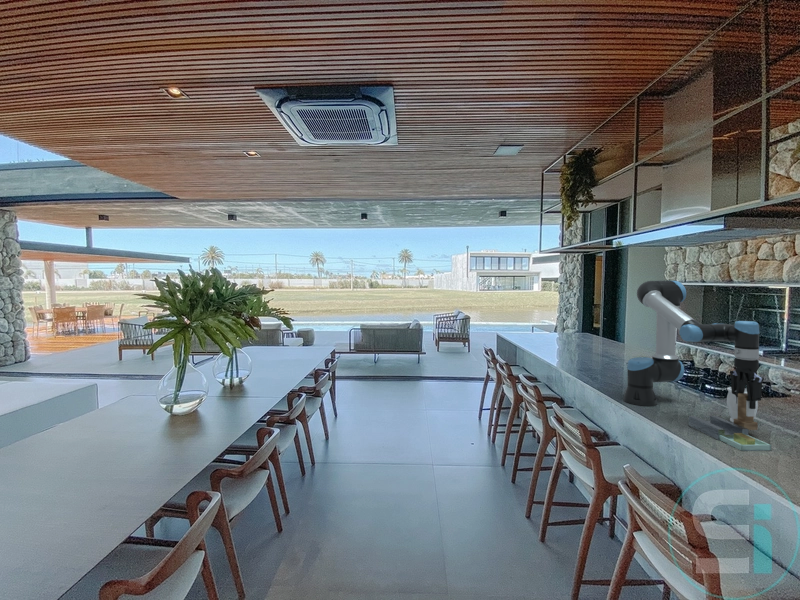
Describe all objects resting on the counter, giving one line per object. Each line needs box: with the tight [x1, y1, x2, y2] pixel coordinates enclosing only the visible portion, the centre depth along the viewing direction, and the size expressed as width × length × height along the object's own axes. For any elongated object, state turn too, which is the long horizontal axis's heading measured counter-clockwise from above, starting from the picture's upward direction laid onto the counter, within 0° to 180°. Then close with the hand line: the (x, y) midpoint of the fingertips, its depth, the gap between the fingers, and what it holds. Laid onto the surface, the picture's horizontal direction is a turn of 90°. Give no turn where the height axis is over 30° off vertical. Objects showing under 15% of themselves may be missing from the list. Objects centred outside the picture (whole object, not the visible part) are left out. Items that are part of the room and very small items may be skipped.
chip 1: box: [734, 433, 747, 443], centre depth 151 cm, size 3×3×3 cm
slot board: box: [688, 415, 750, 441], centre depth 162 cm, size 16×12×4 cm
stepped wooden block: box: [734, 393, 759, 431], centre depth 159 cm, size 5×6×14 cm
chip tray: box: [718, 434, 772, 452], centre depth 149 cm, size 10×11×2 cm
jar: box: [726, 386, 759, 423], centre depth 172 cm, size 11×10×15 cm
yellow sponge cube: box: [740, 435, 755, 445], centre depth 147 cm, size 3×3×3 cm
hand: (745, 414), depth 159 cm, fingers closed on stepped wooden block, 3 cm apart
